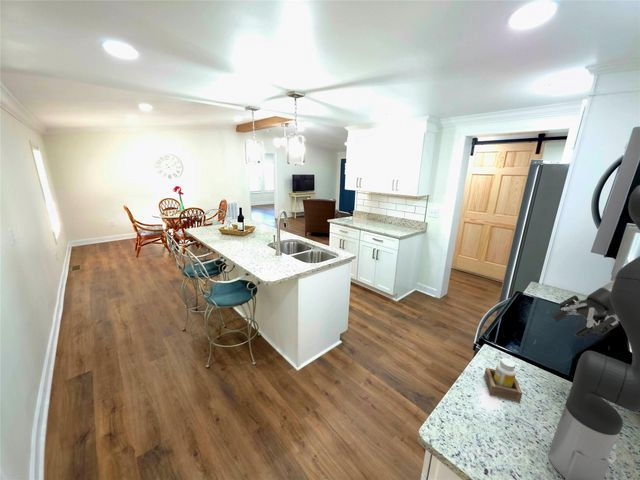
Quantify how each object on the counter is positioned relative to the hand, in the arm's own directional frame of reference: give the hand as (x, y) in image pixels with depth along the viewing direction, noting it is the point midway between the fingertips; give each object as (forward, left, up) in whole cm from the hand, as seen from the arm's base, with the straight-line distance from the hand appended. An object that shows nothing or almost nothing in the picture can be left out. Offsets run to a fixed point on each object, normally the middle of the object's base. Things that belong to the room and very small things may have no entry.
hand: (564, 327), depth 83 cm
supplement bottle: (-5, +15, -23) cm, 28 cm away
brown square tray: (-6, +15, -25) cm, 29 cm away
